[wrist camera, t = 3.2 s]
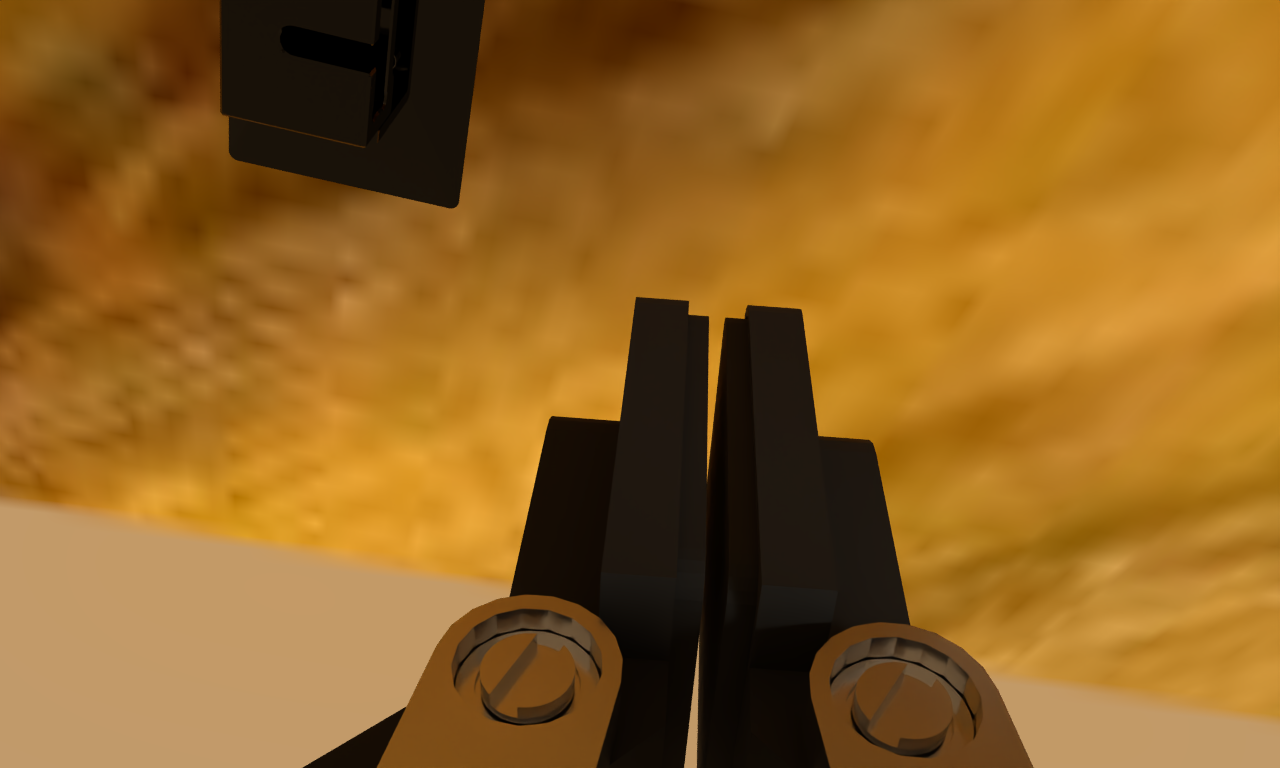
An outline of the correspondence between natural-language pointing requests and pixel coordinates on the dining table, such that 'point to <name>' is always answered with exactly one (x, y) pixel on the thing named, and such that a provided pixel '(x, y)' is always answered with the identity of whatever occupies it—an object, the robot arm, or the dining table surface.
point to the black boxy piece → (353, 90)
